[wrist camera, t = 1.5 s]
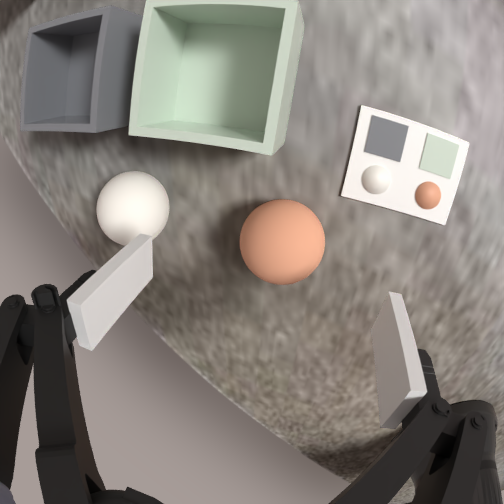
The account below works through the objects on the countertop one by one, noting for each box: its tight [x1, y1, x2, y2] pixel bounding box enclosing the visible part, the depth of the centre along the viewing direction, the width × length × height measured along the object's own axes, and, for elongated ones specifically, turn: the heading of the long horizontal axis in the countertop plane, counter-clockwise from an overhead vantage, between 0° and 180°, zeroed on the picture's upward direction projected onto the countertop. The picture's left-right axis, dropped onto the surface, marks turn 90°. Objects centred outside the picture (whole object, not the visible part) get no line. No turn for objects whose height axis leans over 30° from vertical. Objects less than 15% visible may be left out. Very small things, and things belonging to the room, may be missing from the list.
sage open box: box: [129, 0, 305, 156], centre depth 18 cm, size 9×9×6 cm
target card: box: [341, 105, 469, 225], centre depth 20 cm, size 7×9×1 cm
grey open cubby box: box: [20, 6, 143, 133], centre depth 19 cm, size 9×9×6 cm
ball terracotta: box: [240, 199, 325, 285], centre depth 22 cm, size 6×6×6 cm
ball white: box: [96, 171, 169, 246], centre depth 24 cm, size 6×6×6 cm
